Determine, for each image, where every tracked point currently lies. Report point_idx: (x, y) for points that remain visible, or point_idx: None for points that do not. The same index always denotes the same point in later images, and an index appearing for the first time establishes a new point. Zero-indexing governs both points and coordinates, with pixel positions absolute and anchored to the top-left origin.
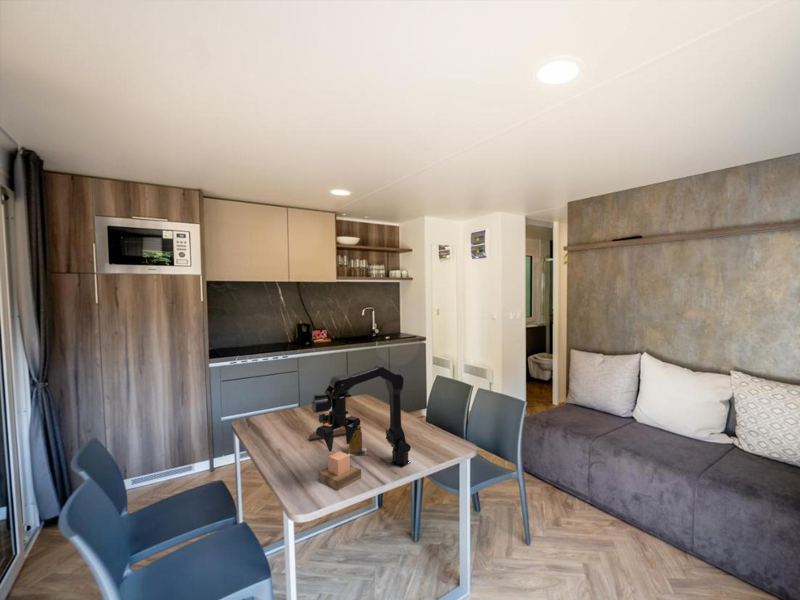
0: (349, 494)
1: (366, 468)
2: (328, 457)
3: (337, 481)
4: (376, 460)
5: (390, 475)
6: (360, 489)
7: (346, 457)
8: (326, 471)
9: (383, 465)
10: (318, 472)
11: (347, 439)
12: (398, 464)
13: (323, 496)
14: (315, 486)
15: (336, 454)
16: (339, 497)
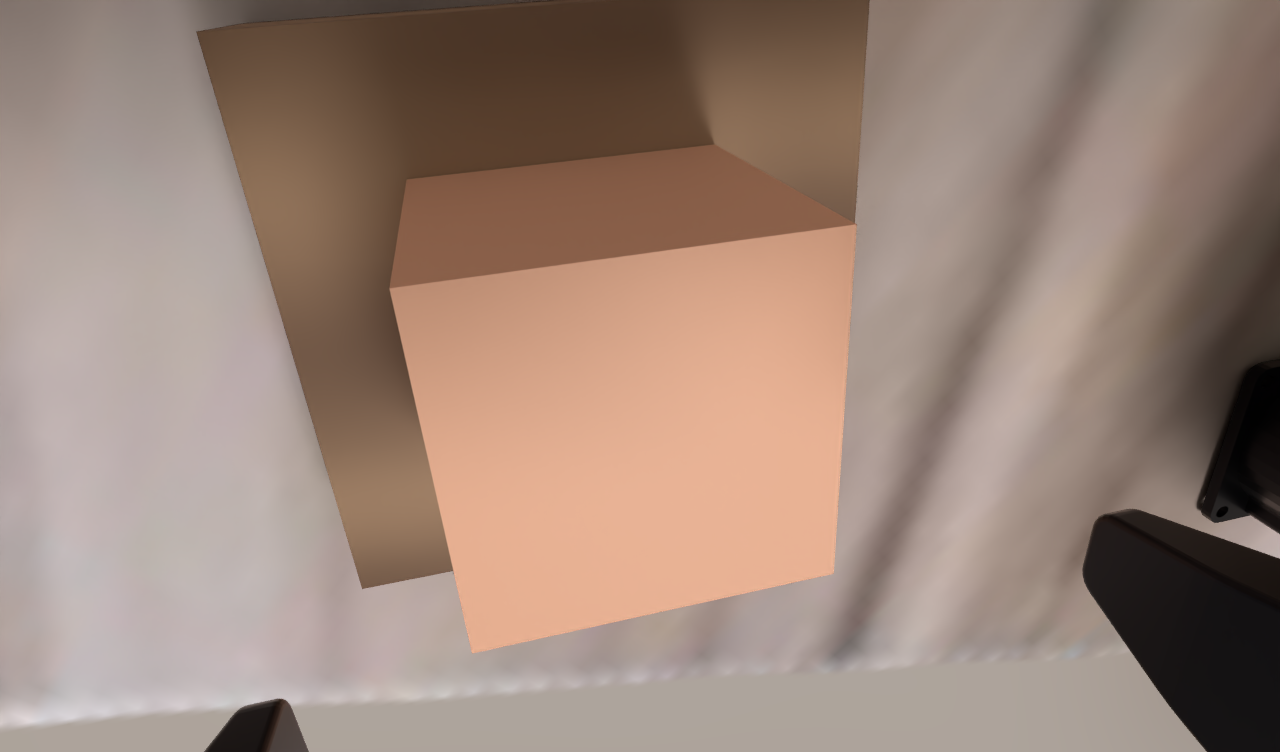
0: (439, 637)
1: (1018, 261)
2: (393, 294)
3: (359, 572)
4: (1268, 165)
5: (1011, 566)
6: None
7: (733, 577)
8: (366, 164)
9: (1175, 345)
10: (202, 37)
11: (1237, 658)
12: (1239, 473)
13: (116, 510)
14: (104, 180)
15: (648, 357)
16: (303, 631)
